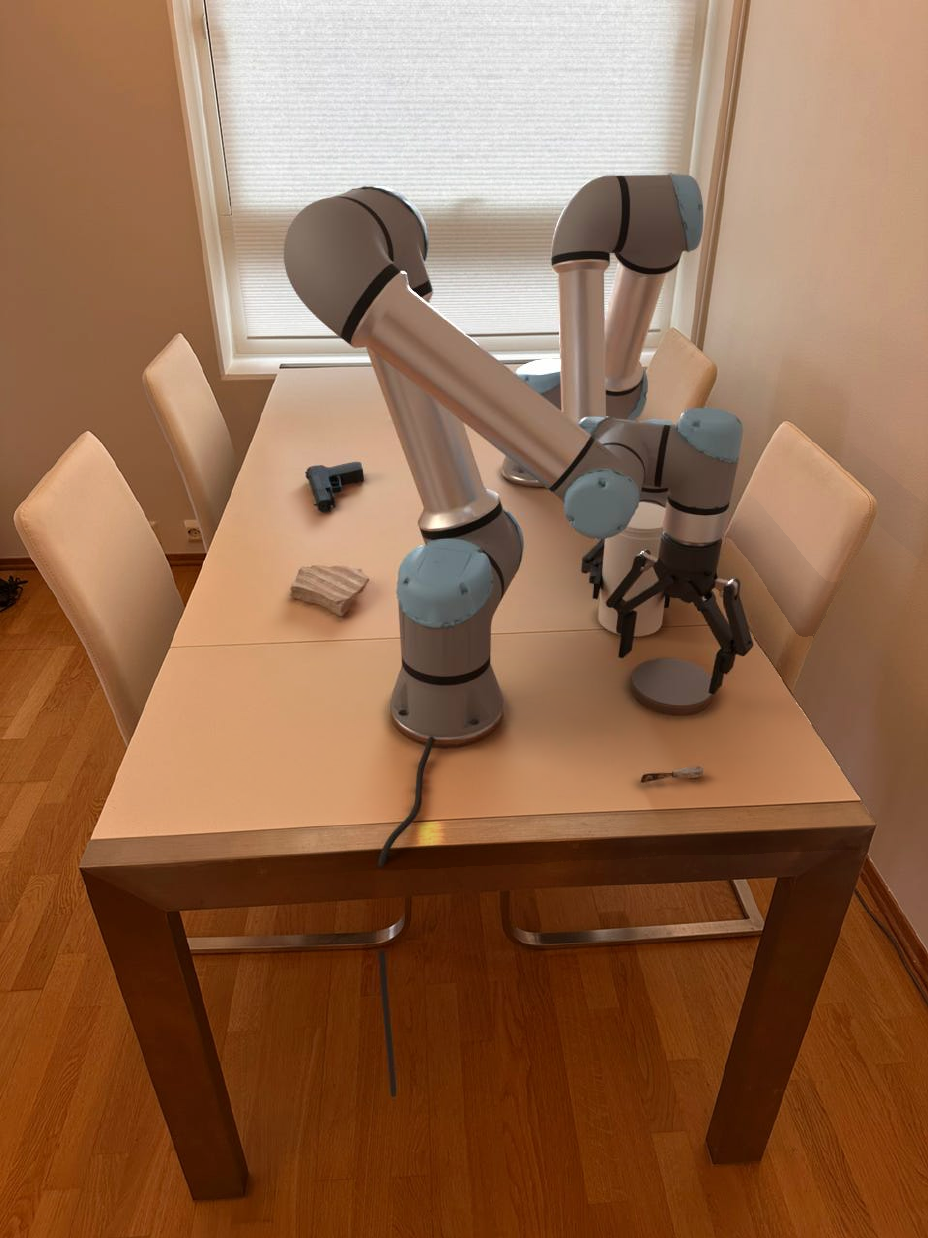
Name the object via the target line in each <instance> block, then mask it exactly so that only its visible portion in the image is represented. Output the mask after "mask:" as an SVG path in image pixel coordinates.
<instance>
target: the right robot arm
mask: <svg viewBox="0 0 928 1238" xmlns="http://www.w3.org/2000/svg"><path fill="white" fill-rule="evenodd" d="M703 230H704V202H703V196H702V191H701V188H700V186H699V183H698V182H697V180H696V179H695V178H694V177H693V176H692V175H689V174H680V173H679V174H678V173H672V172H668V173H667V174H645V175H644V174H631V175H630V174H629V175H628V174H626V175H625V174H624V175H623V174H621V175H619V174H618V175H616V174H605V175H600V176H597V177H594V178H592V179H591V180H589V181H587V182H585V183H584V184H583V185H582V186H580V187H579V188H578V190H576V191H575V192H574V194H573V195H572V196H571V197H570V198H569V200H568V201H567V203H566V205H565V206H564V208H563V209H562V211H561V213H560V216H559V218H558V220H557V223H556V225H555V229H554V231H553V232H554V233H553V237H552V239H551V248H550V249H551V250H550V269H551V270H552V272H553V273H554V274H555V275H556V276H557V300H558V301H557V302H558V303H557V304H558V305H557V306H558V333H559V334H558V335H559V336H558V337H559V338H558V339H559V342H558V343H559V358H558V359H555V358H543V359H537V360H533V361H530V362H527V363H525V364H523V365H521V366H519V368H517V369H516V371H515V372H514V373H515V374H516V375H517V376H518V377H520V378H521V379H522V380H523V381H525V382H526V383H527V384H528V385H530V386H531V387H532V388H533V389H535V390H536V391H537V392H538V393H540V394H541V395H542V396H543V397H544V398H546V399H547V400H548V401H549V402H551V403H552V404H553V405H554V406H556V407H557V408H558V409H559V410H561V411H562V412H563V413H564V414H566V415H567V416H568V417H569V418H570V419H572V420H573V421H574V422H575V423H577V424H579V422H580V421H581V420H582V419H583V418H585V417H608V416H609V417H614V418H616V419H624V420H632V421H637V419H639V418H640V416H641V415H642V413H643V411H644V409H645V407H646V404H647V399H648V397H647V393H648V392H649V380H648V375H647V372H646V370H645V369H644V368H643V366H642V363H641V361H640V360H641V356H642V353H643V350H644V347H645V344H646V340H647V337H648V334H649V330H650V328H651V324H652V321H653V318H654V314H655V311H656V309H657V306H658V305H657V304H658V301H659V298H660V295H661V291H662V290H663V289H662V288H663V285H664V283H665V279H666V276H667V274H669V273H671V272H672V271H674V270H675V269H676V268H677V267H678V265H679V264H680V260H681V257H682V255H683V253H684V252H686V253H690V252H693V251H695V250H697V249H698V247H699V246H700V243H701V240H702V237H703ZM611 254H613V256H614V258H615V260H616V261H617V266H616V270H615V275H614V278H613V283H612V286H611V291H610V294H609V299H608V301H607V306H606V310H605V272H606V270H608V269H609V267H610V266H611ZM641 422H648V423H656V424H664V425H676V424H675V423H674V422H672V421H669V420H667V419H661V418H660V419H659V418H649V419H647V420H641ZM501 467H502V468H501V473H502V476H503V477H504V478H505V479H506V480H508V481H509V482H510V483H513V484H516V485H519V486H524V487H531V488H532V487H533V488H546V487H545V486H544V485H542V484H541V483H540V482H539V481H537V480H536V479H535V478H534V477H532V476H531V475H530V474H529V473H527V472H526V471H525V470H523V469H522V468H521V467H520V466H518V465H517V464H516V463H515V462H513V461H512V460H511V459H509V458H508V457H507V456H506V455H504V458H503V461H502V465H501ZM668 492H669V488H666V487H654V486H645V485H643V487H642V489H641V493H640V502H647V503H652V504H656V505H660V506H662V507H664V508H666V503H667V497H668ZM604 546H605V539H599V541H598V542H597V543H596V544H595V545H593V547H592V548H591V549H589V551H588V552H586V553H585V554H584V555H583V556H582V558H581V568H580V573H582V574H585V575H586V574H588V573H589V576H588V584H591V585H593V589H592V600H598V598H599V597H600V591H601V580H602V569H603V557H604ZM670 603H671V597H668V594H667V593H666V595H665V603H664V609H669V608H670V605H671V604H670Z"/></svg>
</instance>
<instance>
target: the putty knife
mask: <svg viewBox="0 0 928 1238" xmlns="http://www.w3.org/2000/svg"><path fill="white" fill-rule="evenodd" d="M704 772H705V771H704V768H702V767H701V766H697V765H695V766H688V767H683V768H679V769H675V770H673V771H671V772H653V773H652V772H651V773H650V772H649V773H644V774H642V776H641V779H640V783H642V784H645V783H648V782H653V781H659V780H665V779H668V778H673V779H674V778H675V779H693V778H694V779H695V778H700V777H702V776H703V775H704Z"/></svg>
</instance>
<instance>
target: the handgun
mask: <svg viewBox="0 0 928 1238" xmlns="http://www.w3.org/2000/svg"><path fill="white" fill-rule="evenodd" d="M304 473H305V479H307V480H308V483H309V486H310V488H311V492H312V496H313V497H314V500H315V503H313V506H314V507H317V510H318V511H319V512H320V513H330V512H331V511H332V507H333V508H334V509H335V508H336V500H335V499H336V498H335V494H341V493H342V492H343V487H344V486H349V485H353V484H358V483H361V482H362V483H363V482H365V476H364V468H363V465H362V462H361V461H352V462H351V461H350V462H345V463H342V464H338V465H333V466H330V467H328V466H325V465H323V464H319V465H311V466H309V467H307V468H306V471H305V472H304Z"/></svg>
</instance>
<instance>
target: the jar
mask: <svg viewBox="0 0 928 1238" xmlns="http://www.w3.org/2000/svg"><path fill="white" fill-rule="evenodd" d="M665 509H666V508H664V507H662V506H660V505H656V504H652V503H647V502H639V506H638V508H637V509H636V511H635V514H634V515H633V516H632V518H631V520H630V522H629V524H628V525H627V527H626V528H625V529H624V530H623V531H622V532H620V533H619V534H617V535H615V536H613V537H610V538H606V539H605V546H604V557H603V569H602V580H601V588H600V592H599V604H598V615H597V617H598V618H597V619H598V622H599V623H600V625H601V626H602V627H603V628H604V629H605V630H607V631H609V632H611V633H612V634H613V633H614V634H617V635H619V636H621V634H619V633H617V631H616V625H617V618H618V613H617V611H616V610H615V609H614V608H609V607H607V605H606V601H607V600H608V598H609V597H610V596H611V595H612V593H613V592H614V591H615V590H616V588H617V587H618V586H619V584H620V583H621V582H622V581H623V579H624V578H625V577H626V575H627V574H628V573H629V572H630V570H631V569H632V565H633V562H634V558H635V557H636V556H637V555H638V554H639V553H641V552H642V551H643V550H645V549H647V550H649V551H650V553H651V556H653V557H656V558H659V548H660V542H661V535H662V532H663V530H664V529H663V521H664V515H665ZM656 581H658V577H657V575H656V573H655V571H654V568H653V567H651V568H650V569H648V570H647V571H644V572H643V573H642V574H641V576H640V577H639V578H638V579H637V581H636V582H635V583H634V584H633V586H632V587H631V588H630V589H629V591H628V592H627V593H626V594H625V596H624V597H623V598H622V599H624V600H625V601H628V600H629V599H631V598H632V597H634V596H635V595H637V594H638V593H640V592H641V591H643V590H644V589H646V588H647V587H649V586H650V585H652V584H653V583H655V582H656ZM665 595H666V593H665V591H664V590H663V591H661V592H660V593H658V594H656V595H655V596H653V597H651V598H650V599H648V600H647V601H645V602H644V603H642V604H641V605H639V606H637V607H636V608H634V609H633V610H634V611H637V617H636V624H635V631H634V638H635V637H645V636H646V637H647V636H649V635H652V634H654V633H656V632H657V631H659V630H660V628H662V625H663V619H664V618H663V617H664V612H665V608H664V603H665ZM631 611H632V610H631Z"/></svg>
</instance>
